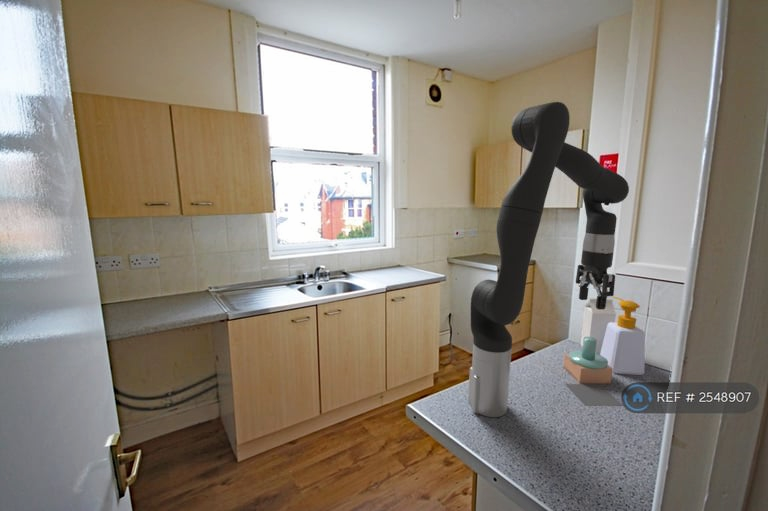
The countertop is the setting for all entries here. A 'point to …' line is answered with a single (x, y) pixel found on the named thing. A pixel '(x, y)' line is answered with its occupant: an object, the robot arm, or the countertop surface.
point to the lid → (588, 355)
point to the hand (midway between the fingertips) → (591, 304)
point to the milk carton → (597, 321)
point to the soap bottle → (625, 342)
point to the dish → (587, 372)
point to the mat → (593, 395)
